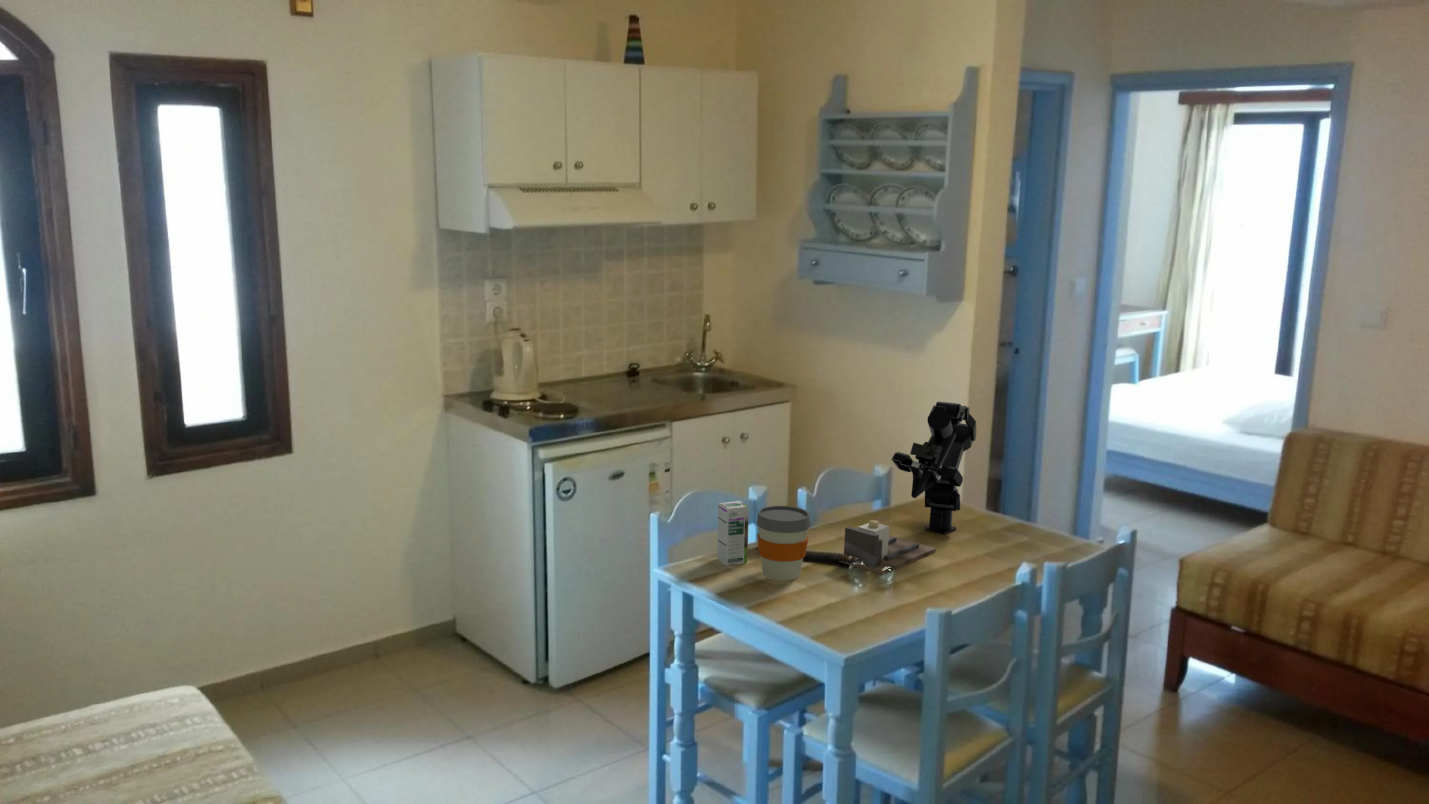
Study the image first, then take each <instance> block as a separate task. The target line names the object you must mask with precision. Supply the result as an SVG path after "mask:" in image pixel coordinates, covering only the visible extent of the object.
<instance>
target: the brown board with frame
mask: <svg viewBox="0 0 1429 804" xmlns="http://www.w3.org/2000/svg"><path fill="white" fill-rule="evenodd" d="M882 541H883V540H880V539H879V535H877V534H874V533H870V532H867V531H863V530H860V529H858V528H856V527H854V526H846V527H845V528H844V544H843V545H844V546H843V552H842V553H841V554H842V555H847V556H852V557H856V558H859V559H860V560H862V561H863V563H864V564H865V566H864V565H861V564H860V565H856V564H855V565H854V564H852V563H848V562H844V561H838V562H839V563H843V564H845V565H849V566H851V567H855V568H858V569H861V570H865V571H868V572H871V573H874V574H877V575H881V576H884V575H886V574H888V573H890V572H893V571H894V570H897V569H900V568H901V567H904V566H906V565H909V564H911V563H913V562H916V561H918V560H920V559H922V558H925V557H927V556H929V555H931V554H934V553H936V551H937V548H936V547H933V546H929V545H926V544H923V543H918V542H915V541H912V540H909V539H908V540H907V539H904V538H901V537H898V536H894V535H890V534H889V538H888V554H887V555H886V556H885V558H884V559H882V560H881V558H882ZM834 561H836V560H835V559H834ZM836 562H837V561H836ZM886 566H887V567H888V566H889V567H891V568H888V569H891V571H889V570H888V569H886V570H884V571H882V569H883V568H884V567H886Z"/></svg>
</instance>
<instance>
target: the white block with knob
mask: <svg viewBox="0 0 1429 804" xmlns="http://www.w3.org/2000/svg"><path fill="white" fill-rule="evenodd" d="M857 529H860V530H863V531H867V532H870V533H874V534H877V535H879V539H880V540H883V541H882V558H881V560H882V559H884V558H885V556H886V555H887V554H888V538H889V535H890V525H886V524H882V523H880V522H879V520H873V519H871V520H869V521H868V523H864V524H863V525H859V526H858V527H857Z"/></svg>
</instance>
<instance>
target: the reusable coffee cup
mask: <svg viewBox="0 0 1429 804" xmlns="http://www.w3.org/2000/svg"><path fill="white" fill-rule="evenodd" d="M756 525H757V527H758V528H757V529H758V533H757V545H758V546H757V547H758V554H759V556H760V558H761V560H760V561H761V562H760V563H761V570H762V571H761V572H762V576H764V577H765V578H767V579H769V580H774V581H779V582H784V581H785V582H787V581H793V580H796V579H798V578H800V576H801V572H802V566H803V562H804V561H803V560H804V558H805V557H806V553H807V548H808V543H809V535H808V534H809V533H808V532H809V529H810V527H811V519H810V513H809V511H808V510H805V509H803V508H801V507H796V506H790V505H771V506H770V505H769V506H765V507H762V508H761V509H759V510H758V512H757V519H756Z"/></svg>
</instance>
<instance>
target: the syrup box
mask: <svg viewBox="0 0 1429 804" xmlns="http://www.w3.org/2000/svg"><path fill="white" fill-rule="evenodd" d="M748 539H749V505H747V504H746V503H745V502H743V501H741V500H736V501H727V502H718V503H717V545H716V546H717V547H716V548H717V549H716V553H717V554H716V558H717V559H718V560H719V562H721V563H722V564H723V565H724V566H727V567H728V566H731V565H742V564H747V563H748V545H749V544H748V543H749V540H748Z"/></svg>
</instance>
